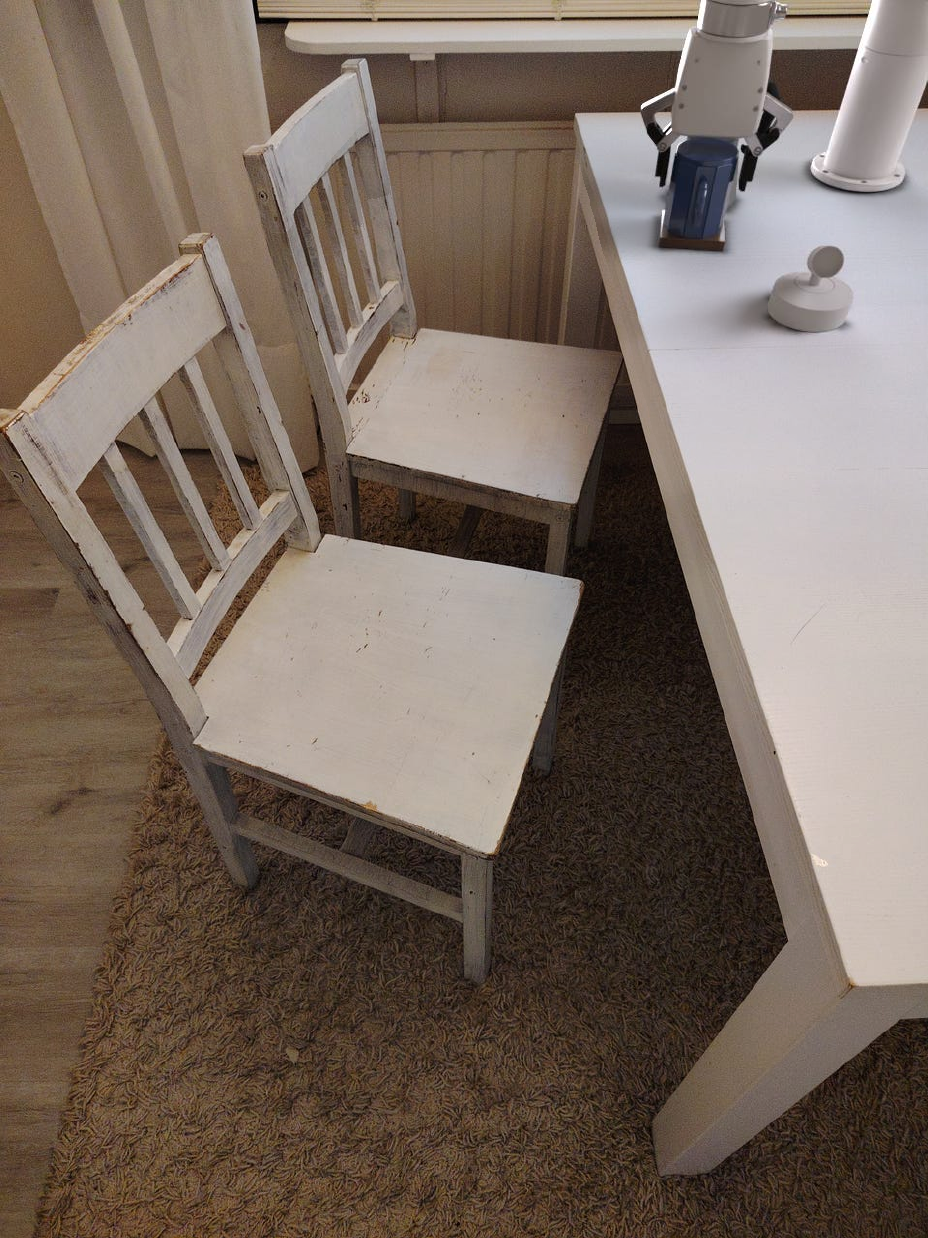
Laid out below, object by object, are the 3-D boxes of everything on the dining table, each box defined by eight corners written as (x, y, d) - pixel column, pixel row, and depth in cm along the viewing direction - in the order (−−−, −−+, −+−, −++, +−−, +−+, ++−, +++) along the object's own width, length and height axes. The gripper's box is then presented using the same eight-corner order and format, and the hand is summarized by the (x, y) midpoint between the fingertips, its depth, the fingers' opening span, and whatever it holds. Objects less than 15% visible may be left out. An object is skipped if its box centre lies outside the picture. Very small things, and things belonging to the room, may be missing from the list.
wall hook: (788, 245, 81) (795, 204, 87) (762, 331, 88) (771, 287, 94) (877, 257, 79) (878, 214, 85) (843, 343, 86) (847, 298, 92)
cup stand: (660, 218, 106) (673, 145, 99) (722, 222, 105) (738, 148, 98) (658, 246, 101) (671, 171, 94) (723, 250, 100) (740, 175, 93)
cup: (663, 211, 105) (676, 136, 98) (721, 214, 104) (738, 139, 97) (661, 243, 99) (674, 166, 92) (722, 247, 98) (740, 169, 91)
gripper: (815, 8, 86) (771, 175, 100) (654, 4, 89) (632, 168, 102) (821, 29, 82) (775, 201, 95) (651, 25, 84) (629, 193, 97)
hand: (701, 184), depth 99 cm, fingers open, 9 cm apart
